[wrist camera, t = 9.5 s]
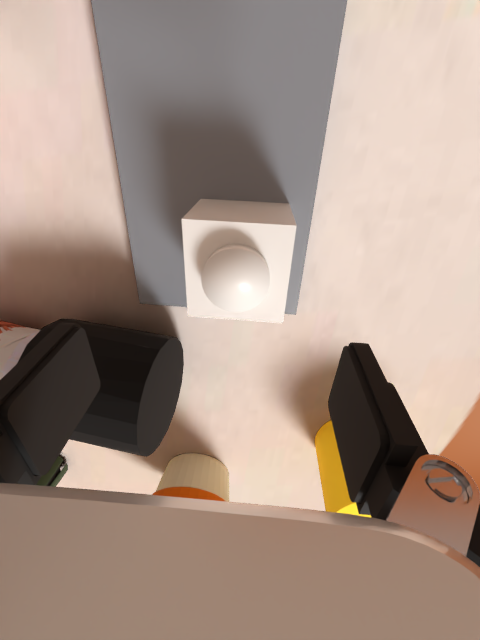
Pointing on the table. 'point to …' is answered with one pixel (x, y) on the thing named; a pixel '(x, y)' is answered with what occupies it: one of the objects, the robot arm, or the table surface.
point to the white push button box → (238, 259)
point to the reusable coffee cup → (195, 478)
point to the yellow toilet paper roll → (333, 473)
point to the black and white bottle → (116, 382)
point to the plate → (215, 117)
